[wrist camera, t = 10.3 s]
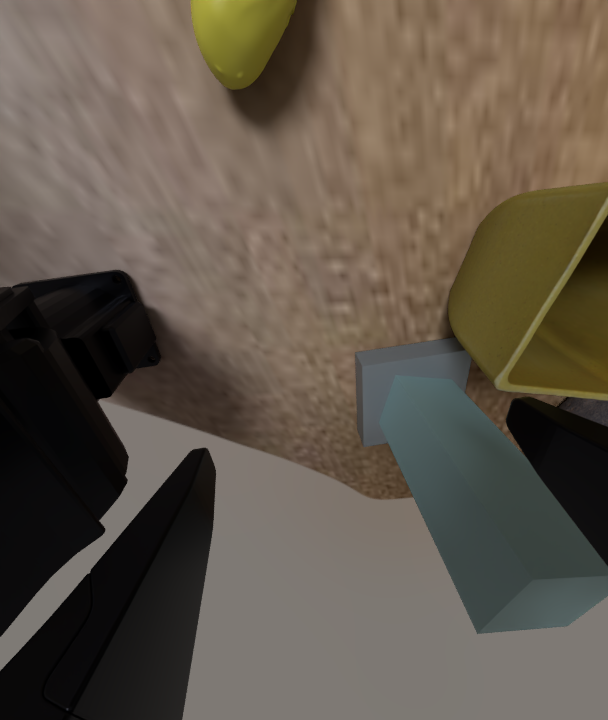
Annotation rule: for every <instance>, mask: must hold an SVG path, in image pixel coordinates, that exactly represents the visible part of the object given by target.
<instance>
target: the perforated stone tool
mask: <svg viewBox="0 0 608 720" xmlns="http://www.w3.org/2000/svg"><path fill="white" fill-rule="evenodd" d="M558 408H560V409H563V410H566V411H568V412H571V413H573V414H576V415H579V416H581V417H584V418H587V419H589V420H592V421H594V422H597V423H600V424H602V425H605V426H607V427H608V401H604V400H596V399H587V398H576V397H568V398H567V399H566V401H565V402H563V403H562V404H561V405H560V406H559V407H558Z"/></svg>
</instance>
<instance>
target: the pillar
mask: <svg viewBox="0 0 608 720" xmlns="http://www.w3.org/2000/svg"><path fill="white" fill-rule="evenodd" d="M379 424H380V427H381V429H382V431H383V433H384V435H385V437H386V439H387V442H388V444H389V446H390V448H391V450H392V452H393V454H394V457H395V459H396V461H397V463H398V465H399V467H400V469H401V472H402V474H403V476H404V478H405V480H406V482H407V484H408V486H409V489H410V491H411V493H412V495H413V497H414V499H415V501H416V504H417V506H418V508H419V510H420V512H421V514H422V516H423V518H424V521H425V522H426V525H427V527H428V529H429V531H430V533H431V535H432V538H433V540H434V542H435V544H436V546H437V548H438V551H439V553H440V555H441V557H442V559H443V561H444V563H445V565H446V568H447V570H448V572H449V574H450V576H451V578H452V580H453V583H454V585H455V587H456V589H457V591H458V593H459V595H460V598H461V600H462V602H463V604H464V606H465V608H466V610H467V612H468V615H469V617H470V619H471V621H472V623H473V625H474V628H475V630H476V632H477V634H480V633H492V632H503V631H516V630H527V629H540V628H552V627H564V626H568V625H569V624H571V623H572V622H573V621H575V620H576V619H578V618H579V617H580V616H582V615H583V614H584V613H586V612H587V611H588V610H589V609H591V608H592V607H594V606H595V605H596V604H598V603H599V602H600V601H602V600H603V599H604V598H606V597H607V596H608V566H607V565H606V564H605V562H604V561H603V560H602V559H601V557H600V556H599V555H598V553H597V552H596V551H595V549H594V548H593V547H592V545H591V544H590V543H589V542H588V540H587V539H586V538H585V536H584V535H583V534H582V532H581V531H580V530H579V528H578V527H577V526H576V525H575V523H574V522H573V521H572V519H571V518H570V517H569V515H568V514H567V513H566V511H565V510H564V509H563V507H562V506H561V505H560V504H559V502H558V501H557V500H556V498H555V497H554V496H553V494H552V493H551V492H550V490H549V489H548V488H547V487H546V485H545V484H544V483H543V481H542V480H541V479H540V477H539V476H538V474H537V473H536V472H535V470H534V468H533V467H532V465H531V464H530V462H529V461H528V459H527V458H526V457H525V456H524V455H523V454H522V453H521V452H520V451H519V450H518V449H517V448H516V446H515V445H514V444H513V443H512V442H511V441H510V440H509V439H508V438H507V437H506V436H505V435H504V434H503V433H502V432H501V431H500V430H499V429H498V427H497V426H496V425H495V424H494V423H493V422H492V421H491V420H490V419H489V418H488V417H487V416H486V415H485V414H484V413H483V412H482V411H481V410H480V408H479V407H478V406H477V405H476V404H475V403H474V402H473V401H472V400H471V399H470V398H469V397H468V396H467V395H466V394H465V393H464V392H463V391H462V390H461V388H460V387H459V386H458V385H457V384H456V383H455V382H454V381H453V380H452V379H440V378H426V377H412V376H398V375H395V378H394V381H393V384H392V387H391V389H390V392H389V395H388V398H387V401H386V404H385V406H384V409H383V412H382V415H381V418H380V421H379Z"/></svg>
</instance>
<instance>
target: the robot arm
mask: <svg viewBox="0 0 608 720" xmlns="http://www.w3.org/2000/svg"><path fill="white" fill-rule="evenodd" d="M115 276H118V277H120V279H121V282H118V281H116V279H115ZM155 340H156V336H155V334H154V331H153V329H152V326H151V324H150V321H149V319H148V316H147V314H146V312H145V309H144V307H143V305H142V304H141V303H140V302H138V300H137V298H136V295H135V293H134V290H133V288H132V286H131V283H130V281H129V278H128V276H127V275H126V274H125V273H124V272H123V271H121V270H111V271H104V272H96V273H89V274H82V275H75V276H68V277H61V278H53V279H46V280H39V281H32V282H25V283H20V284H17V285H15V286H13V287H12V288H11V287H0V637H1V636H2V635H3V633H4V632H5V631H6V630H7V629H8V627H9V626H10V625H11V623H12V622H13V621H14V620H15V619H16V618H17V616H18V615H19V614H20V613H21V612H22V610H23V609H24V608H25V607H26V605H27V604H28V603H29V602H30V601H31V599H32V598H33V597H34V596H35V594H36V593H37V592H38V591H39V590H40V589H41V588H42V587H43V585H44V584H45V583H46V582H47V581H48V580H49V579H50V578H51V577H52V576H53V575H54V574H55V573H56V572H57V571H58V570H59V569H60V568H61V567H62V566H63V565H65V564H66V563H67V562H68V561H69V560H70V559H71V558H72V557H73V556H74V555H75V554H77V553H78V552H80V551H81V550H82V549H84V548H85V547H87V546H88V545H89V544H91V543H92V542H94V541H95V540H96V539H98V538H99V537H101V536H102V535H103V534H104V532H105V528H104V526H103V525H102V524H101V523H100V522H99V520H100V519H101V518H102V517H103V516H104V514H105V513H106V512H107V511H108V510H109V508H110V507H111V506H112V505H113V504H114V502H115V501H116V500H117V499H118V497H119V496H120V495H121V493H122V491H123V489H124V487H125V486H126V484H127V481H128V480H127V478H126V476H125V474H126V472H127V465H128V458H129V456H128V454H127V452H126V449H125V447H124V445H123V443H122V442H121V440H120V438H119V437H118V435H117V433H116V432H115V430H114V428H113V427H112V425H111V423H110V422H109V420H108V418H107V417H106V415H105V413H104V412H103V410H102V408H101V407H100V405H99V403H98V401H99V399H101V398H108V397H110V396H111V395H112V394H113V393H114V391H115V390H116V389H117V387H118V386H119V385H120V383H121V382H122V380H123V379H124V378H125V376H126V375H127V374H128V373H132V372H133V371H134V370H135V369H136V368H142V367H149V366H155V365H157V364H158V363H159V362H160V360H161V355H160V353H159V350H158V348H157V346H156V343H155ZM150 356H152V357H154V358H155V360H152V359H151V358H150ZM506 424H507V427H508V429H509V430H510V432H511V433H512V435H513V437H514V438H515V440H516V441H517V443H518V445H519V446H520V448H521V449H522V451H523V453H524V454H525V456H526V457H527V459H528V461H529V462H530V464H531V465H532V467H533V468H534V470H535V472H536V473H537V474H538V476H539V477H540V479H541V480H542V481H543V483H544V484H545V485H546V487H547V488H548V489H549V490H550V492H551V493H552V494H553V496H554V497H555V498H556V500H557V501H558V502H559V504H560V505H561V506H562V507H563V509H564V510H565V511H566V513H567V514H568V515H569V517H570V518H571V519H572V521H573V522H574V523H575V525H576V526H577V527H578V528H579V530H580V531H581V532H582V534H583V535H584V536H585V538H586V539H587V540H588V542H589V543H590V544H591V545H592V547H593V548H594V549H595V551H596V552H597V553H598V555H599V556H600V557H601V559H602V560H603V561H604V562H605V564H606V565H607V566H608V427H607V426H605V425H602V424H600V423H597V422H594V421H592V420H589V419H587V418H584V417H581V416H579V415H576V414H573V413H571V412H568V411H566V410H563V409H560V408H558V407H555V406H553V405H550V404H547V403H545V402H542V401H540V400H537V399H534V398H532V397H521V398H515V399H513V400H512V402H511V405H510V408H509V411H508V414H507V418H506ZM215 480H216V470H215V466H214V463H213V461H212V458H211V456H210V453H209V451H208V449H207V448H200V449H194V450H192V451H190V453H189V454H188V455H187V456H186V457H185V458H184V460H183V461H182V462H181V463H180V464H179V466H178V467H177V468H176V469H175V470H174V472H173V473H172V474H171V475H170V476H169V477H168V479H167V480H166V481H165V482H164V483H163V485H162V486H161V487H160V488H159V489H158V491H157V492H156V493H155V494H154V495H153V497H152V498H151V499H150V500H149V501H148V502H147V504H146V505H145V506H144V507H143V509H142V510H141V511H140V512H139V513H138V514H137V516H136V517H135V518H134V519H133V520H132V521H131V523H130V524H129V525H128V526H127V527H126V529H125V530H124V531H123V532H122V533H121V535H120V536H119V537H118V538H117V539H116V541H115V542H114V543H113V544H112V545H111V546H110V548H109V549H108V550H107V551H106V552H105V554H104V555H103V556H102V557H101V558H100V560H99V561H98V562H97V563H96V564H95V565H94V567H93V568H92V569H91V571H90V573H89V574H87V575H86V576H85V577H84V578H83V580H82V581H81V582H80V583H79V584H78V586H77V587H76V588H75V589H74V590H73V591H72V593H71V594H70V595H69V596H68V597H67V599H66V600H65V601H64V602H63V603H62V604H61V605H60V607H59V608H58V609H57V610H56V611H55V612H54V613H53V614H52V616H51V617H50V618H49V619H48V620H47V621H46V622H45V623H44V625H43V626H42V627H41V628H40V629H39V630H38V631H37V632H36V633H35V634H34V635H33V636H32V638H31V639H30V640H29V641H28V642H27V643H26V644H25V645H24V646H23V647H22V648H21V650H20V651H19V652H18V653H17V654H16V655H15V656H14V657H13V658H12V659H11V660H10V661H9V662H8V663H7V664H6V666H5V667H4V668H3V669H2V670H1V671H0V720H182V717H183V711H184V705H185V699H186V693H187V686H188V680H189V674H190V668H191V662H192V655H193V649H194V643H195V637H196V630H197V625H198V619H199V612H200V606H201V600H202V594H203V588H204V582H205V575H206V569H207V563H208V557H209V551H210V544H211V538H212V530H213V520H214V501H215V500H214V499H215V482H216V481H215Z"/></svg>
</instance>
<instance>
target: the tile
mask: <svg viewBox="0 0 608 720" xmlns="http://www.w3.org/2000/svg"><path fill="white" fill-rule="evenodd" d="M471 360H472V358H471V356H470V355H469V354H468V353H467V351H466V350H465V349H464V347H463V346H462V345H461V343H460V342H459V341H458V339H457V338H456V337H454V338H447V339H441V340H434V341H428V342H421V343H415V344H408V345H401V346H395V347H388V348H382V349H375V350H369V351H362V352H356V353H355V365H356V399H357V430H358V433H359V436H360V439H361V441H362V444H363V447H367V446H373V445H379V444H385V443H388V442H387V439H386V437H385V435H384V433H383V431H382V429H381V427H380V424H379V421H380V418H381V415H382V412H383V409H384V406H385V404H386V401H387V398H388V395H389V392H390V389H391V387H392V384H393V381H394V378H395V375H398V376H412V377H426V378H440V379H452V380H453V381H454V382H455V383H456V384H457V385H458V386H459V387H460V388H461V390H462V391H463V392H464V393H465V389H466V384H467V379H468V374H469V370H470V365H471Z"/></svg>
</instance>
